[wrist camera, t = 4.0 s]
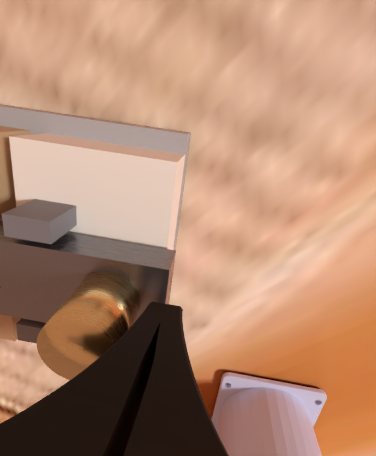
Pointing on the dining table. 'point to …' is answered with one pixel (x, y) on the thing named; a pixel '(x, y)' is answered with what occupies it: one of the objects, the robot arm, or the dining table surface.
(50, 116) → the plate
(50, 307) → the bolt
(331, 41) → the dining table surface
